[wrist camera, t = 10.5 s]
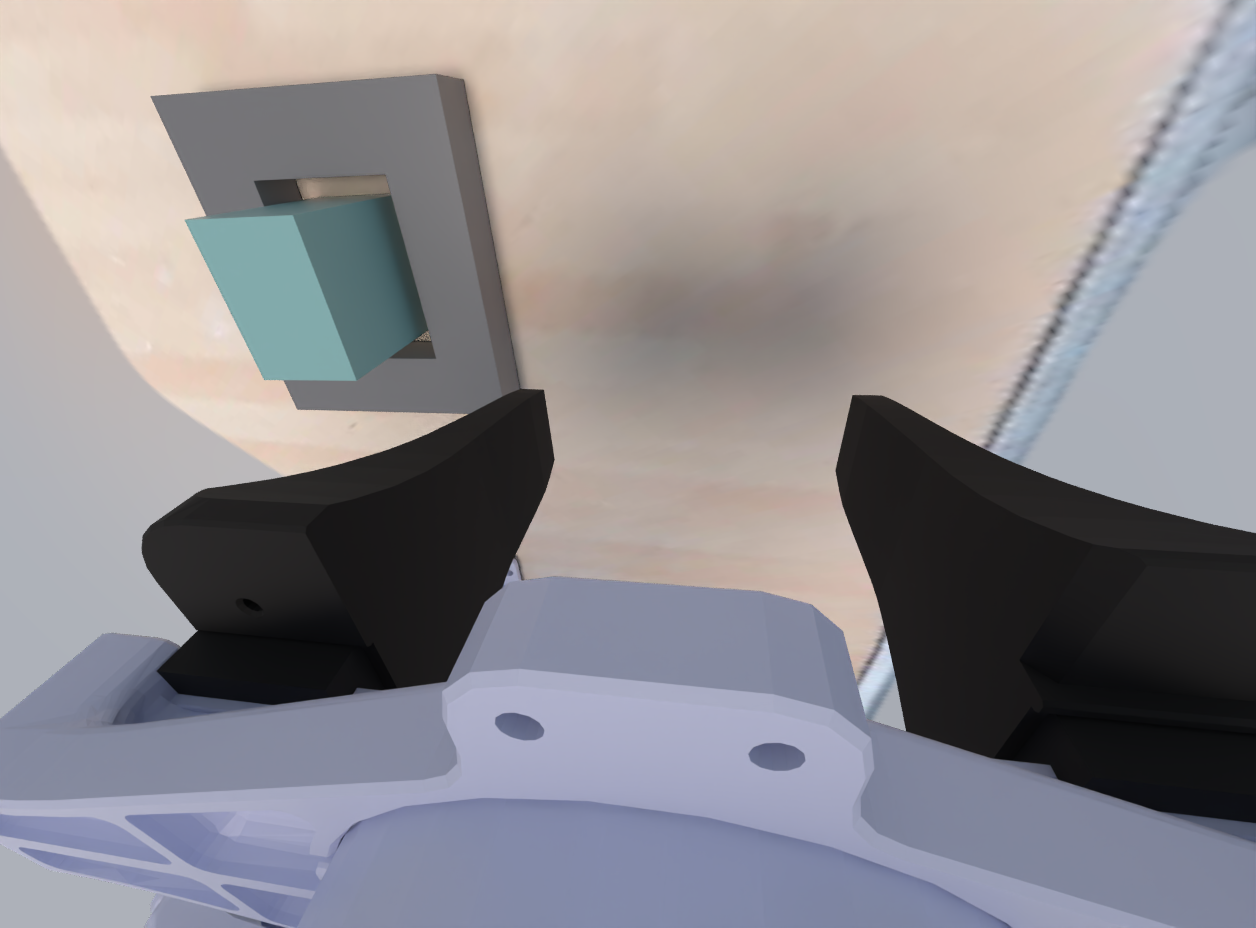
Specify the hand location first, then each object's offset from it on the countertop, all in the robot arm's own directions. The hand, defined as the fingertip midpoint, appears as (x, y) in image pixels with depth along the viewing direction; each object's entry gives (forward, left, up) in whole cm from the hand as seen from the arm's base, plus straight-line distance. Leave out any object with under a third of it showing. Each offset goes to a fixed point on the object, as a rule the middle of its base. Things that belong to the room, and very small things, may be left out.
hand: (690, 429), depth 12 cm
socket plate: (+2, +13, -9) cm, 16 cm away
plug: (+2, +13, -10) cm, 16 cm away
